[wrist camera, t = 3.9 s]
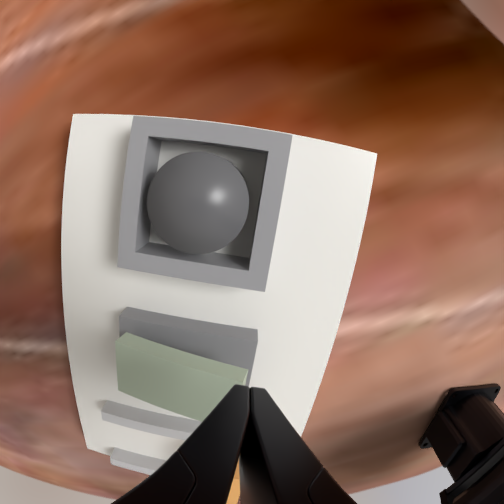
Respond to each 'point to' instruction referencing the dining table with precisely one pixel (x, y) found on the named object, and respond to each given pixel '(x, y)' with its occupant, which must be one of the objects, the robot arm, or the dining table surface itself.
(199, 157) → the push button
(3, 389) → the dining table surface
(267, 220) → the panel
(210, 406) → the rocker
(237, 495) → the orange rectangular block
